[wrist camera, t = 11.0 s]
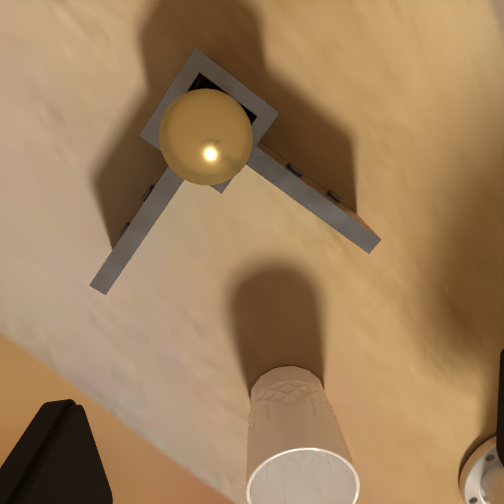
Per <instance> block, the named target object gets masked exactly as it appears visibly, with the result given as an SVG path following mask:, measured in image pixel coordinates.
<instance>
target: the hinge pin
mask: <svg viewBox="0 0 504 504" xmlns="http://www.w3.org/2000/svg"><path fill="white" fill-rule="evenodd" d="M252 144H253V134H252V128H251V124H250V121H249V119H248V117H247V115H246V113H245V111H244V109H243V108H242V107H241V105H240V104H239V103H238V102H237V101H236V100H235V99H233V98H232V97H231V96H229V95H227V94H225V93H223V92H221V91H218V90H214V89H197V90H193V91H189V92H187V93H184V94H183V95H181V96H179V97H178V98H176V99H175V100H174V101H173V102H172V103H171V104H170V105H169V106H168V108H167V109H166V111H165V113H164V114H163V116H162V119H161V122H160V126H159V145H160V149H161V152H162V155H163V157H164V159H165V161H166V162H167V164H168V165H169V167H170V168H171V169H172V170H173V171H174V172H175V173H176V174H177V175H179V176H180V177H181V178H183V179H185V180H187V181H189V182H191V183H195V184H199V185H215V184H220V183H223V182H225V181H227V180H229V179H231V178H232V177H234V176H235V175H236V174H238V173H239V172H240V171H241V169H242V168H243V167H244V166H245V164H246V162H247V161H248V158H249V156H250V153H251V150H252Z"/></svg>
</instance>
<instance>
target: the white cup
mask: <svg viewBox="0 0 504 504" xmlns="http://www.w3.org/2000/svg"><path fill="white" fill-rule="evenodd" d="M359 490H360V482H359V477H358V474H357V471H356V469H355V466H354V463H353V461H352V458H351V455H350V453H349V450H348V447H347V444H346V442H345V439H344V437H343V434H342V431H341V429H340V426H339V423H338V420H337V417H336V415H335V413H334V411H333V408H332V406H331V404H330V403H329V401H328V399H327V397H326V394H325V392H324V389H323V386H322V384H321V381H320V379H319V378H317V377H316V376H315V375H314V374H312V373H311V372H310V371H309V370H307V369H303V368H299V367H295V366H285V367H278V368H274V369H272V370H270V371H269V372H267V373H265V374H263V375H262V376H260V377H259V379H258V380H257V382H256V383H255V385H254V386H253V387H252V389H251V398H250V414H249V417H248V434H247V477H246V498H247V502H248V504H355V502H356V500H357V498H358V495H359Z"/></svg>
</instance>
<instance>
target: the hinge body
mask: <svg viewBox="0 0 504 504" xmlns="http://www.w3.org/2000/svg"><path fill="white" fill-rule="evenodd" d="M204 77H207V78H208V79H209V80H211V81H212V82H213V83H214V84H216V85H217V86H218V87H220V88H221V89H222V90H224V91H225V92H226V93H228V94H229V95H230V96H231V97H233V98H234V99H235V100H237V101H238V102H239V103H241V104H242V105H243V106H245V107H246V108H247V109H248V110H250V111H251V112H252V114H251V115H250V116H249V118H248V119H249V121H250V124H251V128H252V134H253V144H252V150H251V153H250V156H249V158H248V161H247V162H246V165H248V166H249V167H250V168H252V169H253V170H254V171H256V172H257V173H258V174H260V175H261V176H263V177H264V178H265V179H267V180H268V181H269V182H271V183H272V184H274V185H275V186H276V187H278V188H279V189H280V190H282V191H283V192H285V193H286V194H287V195H289V196H290V197H291V198H293V199H294V200H296V201H297V202H298V203H300V204H301V205H302V206H304V207H305V208H307V209H308V210H309V211H311V212H312V213H313V214H315V215H316V216H318V217H319V218H320V219H322V220H323V221H324V222H326V223H327V224H329V225H330V226H331V227H333V228H334V229H335V230H337V231H338V232H340V233H341V234H342V235H344V236H345V237H346V238H348V239H349V240H350V241H352V242H353V243H355V244H356V245H357V246H359V247H360V248H361V249H363V250H364V251H366V252H367V253H368V254H369V253H370V252H371V251H372V250H373V249H374V247H375V246H376V245H377V244H378V243H379V242H380V241H381V239H380V238H379V237H378V236H377V235H376V234H375V232H374V231H373V230H372V229H371V228H370V227H369V226H368V225H367V224H366V223H365V222H364V221H363V220H362V219H361V218H360V217H359V216H358V214H356V213H355V212H354V211H352V210H351V209H350V208H348V207H347V206H346V205H344V204H343V203H342V202H341V201H342V199H341V198H340V197H339V196H338V195H336V194H335V193H334V192H332V191H331V190H328V192H327V191H326V190H324V189H323V188H322V187H320V186H319V185H318V184H316V183H315V182H314V181H312V180H311V179H310V178H308V177H307V176H306V175H304V173H303V172H302V171H301V170H300V169H298V168H297V167H296V166H294V165H293V164H292V163H290V162H287V161H286V160H285V159H283V158H282V157H281V156H279V155H278V154H277V153H275V152H274V151H273V150H271V149H270V148H269V147H267V146H266V145H265V144H263V143H262V142H261V141H260V140H261V138H262V137H263V135H264V134H265V133H266V131H267V130H268V128H269V127H270V126H271V124H272V123H273V121H274V120H275V119H276V117H277V116H278V115H279V112H278V111H276V110H275V109H274V108H273V107H271V106H270V105H269V104H267V103H266V102H265V101H264V100H262V99H261V98H260V97H258V96H257V95H256V94H255V93H253V92H252V91H251V90H250V89H248V88H247V87H246V86H244V85H243V84H242V83H241V82H239V81H238V80H237V79H235V78H234V77H233V76H232V75H230V74H229V73H228V72H226V71H225V70H224V69H223V68H221V67H220V66H219V65H217V64H216V63H215V62H214V61H212V60H211V59H210V58H208V57H207V56H206V55H205V54H203V53H202V52H201V51H200V50H198V49H197V48H196V47H194V49H193V51H192V52H191V54H190V55H189V57H188V59H187V60H186V62H185V63H184V65H183V67H182V68H181V70H180V71H179V73H178V75H177V76H176V78H175V79H174V81H173V82H172V84H171V86H170V87H169V89H168V90H167V92H166V94H165V95H164V97H163V98H162V100H161V102H160V103H159V105H158V106H157V108H156V110H155V111H154V113H153V114H152V116H151V118H150V119H149V121H148V122H147V124H146V125H145V127H144V129H143V130H142V132H141V133H140V135H139V136H140V137H141V138H143V139H144V140H145V141H147V142H148V143H150V144H151V145H153V146H154V147H155V148H157V149H158V150H160V151H161V149H160V145H159V126H160V122H161V119H162V116H163V114H164V113H165V111H166V109H167V108H168V106H169V105H170V104H171V103H172V102H173V101H174V100H175V99H176V98H178V97H179V96H181V95H183V94H184V93H187V92H189V91H193V90H196V89H197V88H198V86H199V84H200V83H201V81H202V80H203V78H204ZM232 179H233V177H232V178H231V179H229V180H227V181H225V182H223V183H220V184H215V185H210V186H211V187H213V188H214V189H216V190H217V191H219V192H220V193H221V194H222V192H223V191H224V190H225V188H226V187H227V186H228V184H229V183H230V181H231V180H232ZM183 181H184V179H183V178H181V177H180V176H179V175H177V174H176V173H175V172H174V171H173V170H172V169H171V168H170V167H169V166H168V168H167V169H166V171H165V172H164V174H163V175H162V177H161V178H160V180H159V181H158V183H157V184H156V186H154V185H152V184H151V185H150V187H149V188H148V190H147V191H146V193H145V194H144V196H143V197H142V199H141V200H143V201H144V204H143V205H142V207H141V208H140V210H139V211H138V213H137V214H136V216H135V217H134V219H133V220H132V222H131V223H130V222H127V224H126V225H125V226H124V228H123V229H122V231H121V232H120V234H119V236H120V237H121V238H120V240H119V241H118V243H117V244H116V246H115V247H114V249H113V250H112V252H111V253H110V255H109V256H108V258H107V259H106V261H105V262H104V264H103V265H102V267H101V268H100V270H99V271H98V273H97V274H96V276H95V277H94V279H93V281H92V282H91V284H90V285H89V286H91V287H93V288H94V289H96V290H98V291H100V292H101V293H103V294H105V295H106V294H107V292H108V291H109V289H110V288H111V286H112V285H113V283H114V282H115V280H116V279H117V278H118V276H119V275H120V273H121V272H122V270H123V269H124V267H125V266H126V264H127V263H128V261H129V260H130V259H131V257H132V256H133V254H134V253H135V251H136V250H137V248H138V247H139V245H140V244H141V242H142V241H143V239H144V238H145V237H146V235H147V234H148V232H149V231H150V229H151V228H152V226H153V225H154V223H155V222H156V220H157V219H158V217H159V216H160V215H161V213H162V212H163V210H164V209H165V207H166V206H167V204H168V203H169V201H170V200H171V198H172V197H173V196H174V194H175V193H176V191H177V190H178V188H179V187H180V185H181V184H182V182H183Z"/></svg>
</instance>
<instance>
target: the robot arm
mask: <svg viewBox="0 0 504 504" xmlns="http://www.w3.org/2000/svg"><path fill="white" fill-rule="evenodd" d="M459 486H460V493H461V495H462V498H463V500H464V502H465V504H504V349H503V350H502V351H501V354H500V371H499V392H498V413H497V434H496V435H495V436H494V437H492V438H490V439H489V440H487V441H486V442H485V443H483V444H482V445H481V446H480V447H478V448H477V449H476V450H475V452H474V453H473V454H472V455H471V456H470V457H469V459H468V460H467V462H466V464H465V465H464V467H463V470H462V473H461V475H460V483H459ZM0 504H113V498H112V492H111V489H110V486H109V483H108V480H107V477H106V474H105V471H104V468H103V465H102V462H101V459H100V456H99V453H98V450H97V447H96V444H95V441H94V438H93V435H92V432H91V429H90V426H89V423H88V420H87V416H86V413H85V410H84V408H83V406H82V405H76V403H75V402H74V401H73V400H71V399H67V400H60V401H52V402H47V403H45V404H43V405H42V406H41V408H40V409H39V411H38V412H37V414H36V415H35V417H34V418H33V420H32V421H31V423H30V424H29V426H28V427H27V429H26V430H25V432H24V433H23V435H22V436H21V438H20V439H19V441H18V442H17V444H16V445H15V447H14V448H13V450H12V452H11V453H10V454H9V456H8V457H7V459H6V460H5V462H4V463H3V465H2V466H1V468H0Z"/></svg>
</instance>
